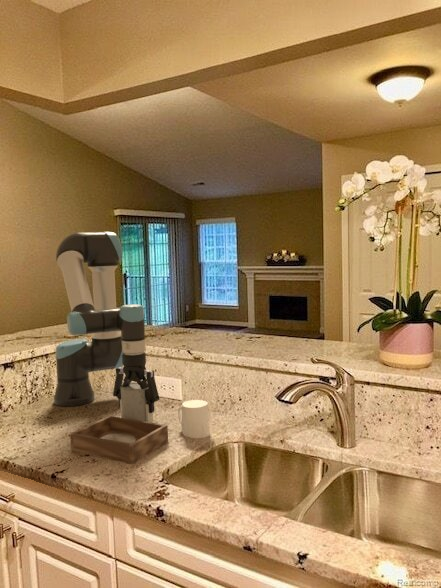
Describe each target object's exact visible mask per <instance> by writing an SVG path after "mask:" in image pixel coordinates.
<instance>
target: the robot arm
mask: <svg viewBox="0 0 441 588" xmlns="http://www.w3.org/2000/svg"><path fill="white" fill-rule="evenodd" d="M55 257H56V258H55V259H56V265H57V267H58V268H59V269H60V270H61V272H62V273H61V274H62V277H63V281H64V286H65V290H66V294H67V299H68V302H69V306H70V312H69V313H67V315H66V324H67V330H68V333H69V334H70V335H72V336H78V335H79V336H84V335H91V334H92V335H91V341H87V339H86V338H75V339H69V340H66V341H63V342H61V343H59V344H58V345H56V348H55V359H56V361H55V362H56V378H57V380H56V381H57V384H56V388H55V393H54V395H53V404H54V405H56V406H58V407H59V406H60V407H76V406H82V405H87V404H88V403H91V402H93V401H94V400H95V391H94V390H93V387H92V384H91V382H90V377H89V376H90V375H89V373H91V372H92V373H93V372H94V373H95V372H99V371H108V370H113V371H114V370H115V380H114V381H115V382H114V387H113V392H112V396H113V397H115V398H117V399H118V407H119V409H120V418H122V404H121V389H120V388H121V386H122V387H126V386H129V385H130V383H132V382H134V383H138V385H140V387H141V389H146V388H148V387H149V388H148V389H146V390H145V398H146V400H147V402H148V403H146V404H145V405H146V422H152V423H153V421H154V412H155V403H156V402H158V401H159V400H160V395H159V392H158V391H159V390H158V388H157V383H156V380H155V371H154V370H153V369H151V370H148V369H147V368H146V363H147V354H146V352H145V351H146V335H145V334H146V331H145V317H146V316H145V312H144V306H143V305H142V304H138V303H132V304H124V305H121V306H119V307H117V297H116V296H117V293H116V292H117V291H116V279H115V277H116V274H115V273H116V269H117V268H118V267H119V262H121V261H122V260H123V247H122V243H121V240H120V238H119V235H117V233H115V232H112V231H92V232H88V231H86V232H85V231H83V232H81V231H80V232H79V231H78V232H73V233H70V234H68V235H67V236H66V237H64V238H63V239H62V240H61V242H60V243H59V245H58V247H57V250H56V253H55ZM84 263H85V264H86V263H87V268H88V269H89V270H90V271H91V276H92V292H93V293H91V290H90V287H89V284H88V280H87V275H86V273H85V268H84V265H83V264H84ZM92 296H93V297H92ZM124 375H125V376H124Z"/></svg>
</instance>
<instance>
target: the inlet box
mask: <svg viewBox="0 0 441 588" xmlns="http://www.w3.org/2000/svg"><path fill="white" fill-rule="evenodd" d="M69 434H70V437H69V438H70V451H71V452H75V453H78V454H84V455H88V456H93V457H97V458H103V459H108V460H113V461H116V462H122V463H127V464H131V465H134V464H136V463H137V462H138V461H139V460H141V459H144V457H147V456H148V455H149V454H151V453H152V452H154V451H156V450H158V448H160V447H162V446H163V445H165V444H166V443H168V442H169V427H168V424H164V423H157V422H152V423H151V422H145V421H139V420H133V419H126V418H121V416H120V417H118V416H112V415H108V416H106V417H104V418H102V419H99V420H98V421H95V422H93V423H91V424H88V425H87V426H84V427H83V428H80V429H79V430H75V431H73V432H72V433H69Z"/></svg>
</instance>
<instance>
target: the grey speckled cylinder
mask: <svg viewBox="0 0 441 588" xmlns="http://www.w3.org/2000/svg"><path fill="white" fill-rule="evenodd" d="M148 388H149V387H148ZM148 388H146V389H148ZM120 389H121V404H122V418H126V419H133V420H139V421H145V422H146V405H145V404H146V403H148V402H147V400H146V398H145V390H146V389H141V387H140V385H138V383H137V382H131V383H130V385H129V386H126V387H122V386H121V388H120ZM151 423H153V421H152V422H151Z"/></svg>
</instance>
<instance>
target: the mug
mask: <svg viewBox="0 0 441 588" xmlns="http://www.w3.org/2000/svg"><path fill="white" fill-rule="evenodd" d="M177 417H178V420H179V423H180V427H181V430H180V431H182V432H181V434H182V435H183V436H185V437H188V438H190V439H191V438H192V439H204V438H207V437H209V436H210V434H211V433H210V432H211V431H210V422H209V421H210V414H209V404H208V402H207V401H206V400H204V399H203V400H202V399H192V400H186V401H184V402H182V404H181V406H179V408H178V410H177Z"/></svg>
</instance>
